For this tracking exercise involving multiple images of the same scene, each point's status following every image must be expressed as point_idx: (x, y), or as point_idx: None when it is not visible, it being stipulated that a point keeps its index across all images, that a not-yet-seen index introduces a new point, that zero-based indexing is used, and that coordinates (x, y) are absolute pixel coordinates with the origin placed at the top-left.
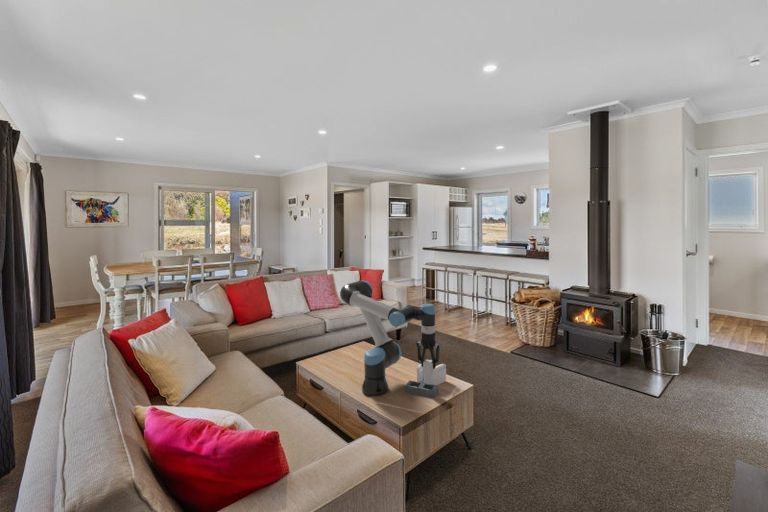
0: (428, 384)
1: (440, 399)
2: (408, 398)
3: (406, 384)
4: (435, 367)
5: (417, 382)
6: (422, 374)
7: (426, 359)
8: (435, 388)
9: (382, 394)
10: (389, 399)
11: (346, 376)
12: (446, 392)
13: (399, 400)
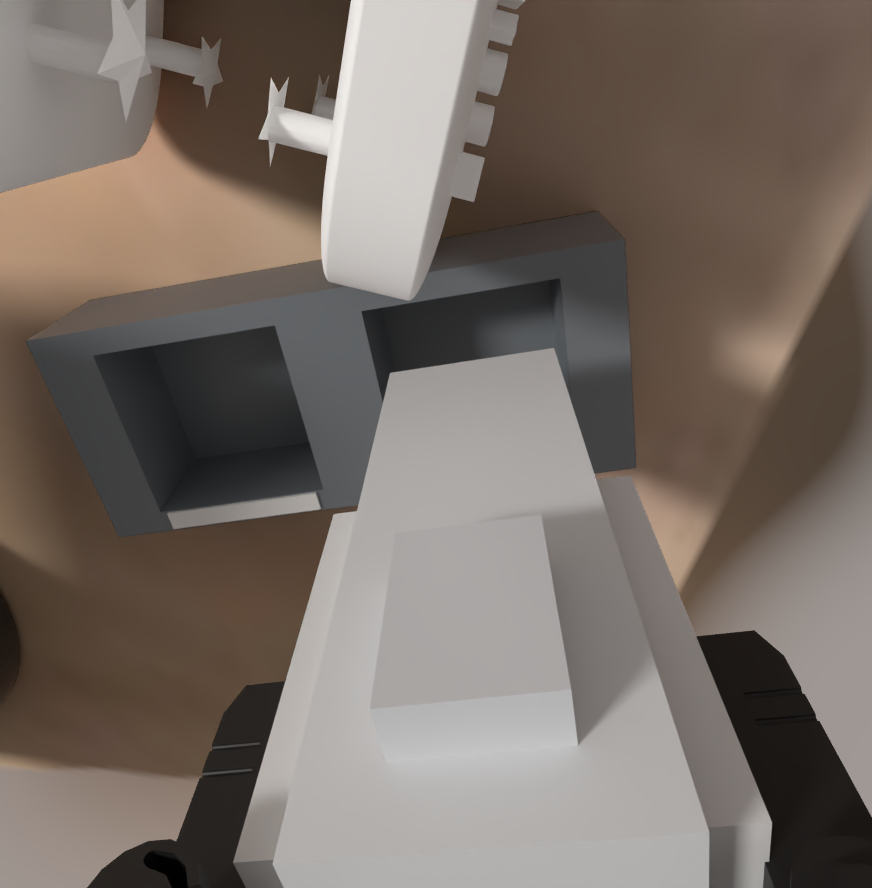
0: (428, 297)
1: (709, 397)
2: (306, 577)
3: (107, 498)
4: (770, 651)
5: (202, 335)
6: (82, 30)
7: (299, 868)
8: (619, 374)
9: (11, 676)
10: (145, 685)
11: None
12: (743, 119)
13: (249, 655)
